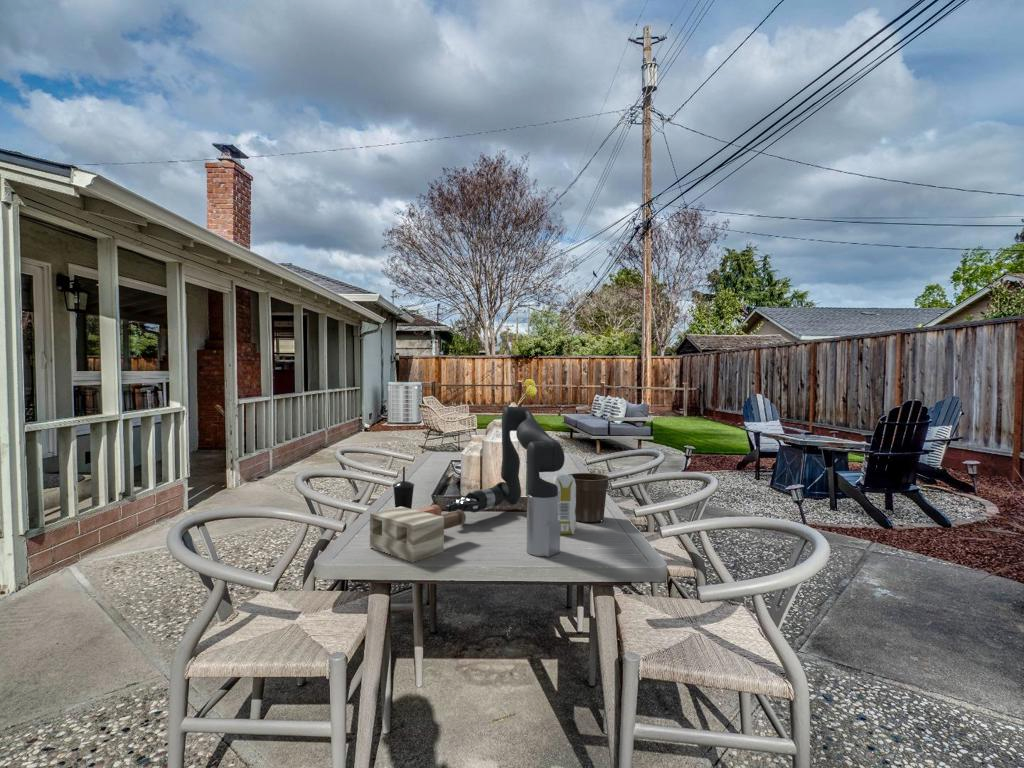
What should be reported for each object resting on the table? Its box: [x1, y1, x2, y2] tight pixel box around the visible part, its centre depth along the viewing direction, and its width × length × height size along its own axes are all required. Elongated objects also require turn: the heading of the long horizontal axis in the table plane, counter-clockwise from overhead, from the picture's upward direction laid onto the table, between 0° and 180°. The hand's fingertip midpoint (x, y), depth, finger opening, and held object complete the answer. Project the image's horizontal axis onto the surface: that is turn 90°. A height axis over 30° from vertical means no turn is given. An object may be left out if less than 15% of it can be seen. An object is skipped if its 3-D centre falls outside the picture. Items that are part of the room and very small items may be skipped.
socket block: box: [369, 507, 445, 563], centre depth 154 cm, size 20×12×10 cm, turn 52°
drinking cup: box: [392, 466, 415, 509], centre depth 184 cm, size 8×8×20 cm
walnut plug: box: [440, 510, 467, 531], centre depth 160 cm, size 5×16×5 cm, turn 142°
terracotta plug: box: [416, 504, 442, 516], centre depth 166 cm, size 5×16×5 cm, turn 142°
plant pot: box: [567, 472, 611, 523], centre depth 193 cm, size 16×16×16 cm
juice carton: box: [552, 474, 577, 535], centre depth 176 cm, size 8×9×19 cm
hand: (447, 508), depth 177 cm, fingers closed
